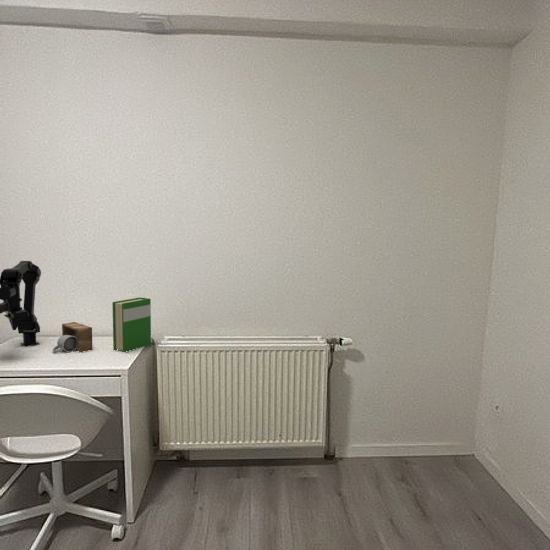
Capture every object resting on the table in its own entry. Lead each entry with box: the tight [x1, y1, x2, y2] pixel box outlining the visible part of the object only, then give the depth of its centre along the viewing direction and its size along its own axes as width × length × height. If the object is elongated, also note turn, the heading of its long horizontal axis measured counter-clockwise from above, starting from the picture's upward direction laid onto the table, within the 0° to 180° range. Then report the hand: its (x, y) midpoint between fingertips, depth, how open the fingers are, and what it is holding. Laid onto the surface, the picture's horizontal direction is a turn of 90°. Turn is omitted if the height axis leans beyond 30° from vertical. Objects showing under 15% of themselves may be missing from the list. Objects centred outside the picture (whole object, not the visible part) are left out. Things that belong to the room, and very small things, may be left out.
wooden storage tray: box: [61, 321, 94, 353], centre depth 210 cm, size 18×6×11 cm, turn 51°
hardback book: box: [112, 297, 152, 353], centre depth 212 cm, size 18×7×24 cm, turn 151°
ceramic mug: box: [52, 335, 79, 354], centre depth 205 cm, size 11×8×8 cm
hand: (14, 330), depth 195 cm, fingers closed
